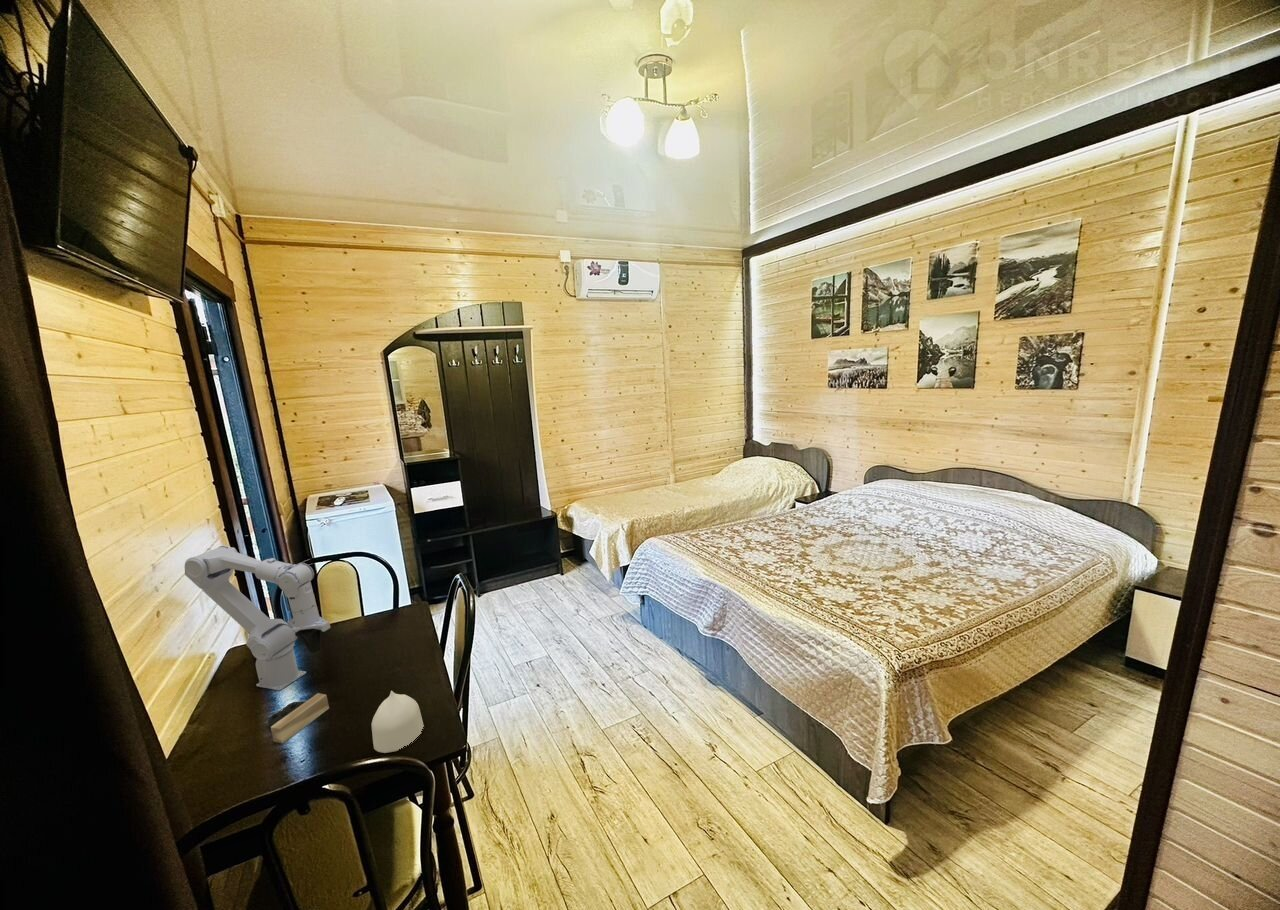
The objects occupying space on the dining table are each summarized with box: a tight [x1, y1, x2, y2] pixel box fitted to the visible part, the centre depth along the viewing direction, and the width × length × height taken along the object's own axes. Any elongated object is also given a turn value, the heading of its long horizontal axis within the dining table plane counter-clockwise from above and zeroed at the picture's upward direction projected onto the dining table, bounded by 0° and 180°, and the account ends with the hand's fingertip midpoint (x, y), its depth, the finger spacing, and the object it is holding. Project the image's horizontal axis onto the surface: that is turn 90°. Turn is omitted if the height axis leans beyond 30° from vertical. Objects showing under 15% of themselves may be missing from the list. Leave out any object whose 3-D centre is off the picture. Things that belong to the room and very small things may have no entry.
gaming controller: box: [267, 700, 307, 729], centre depth 117 cm, size 10×5×6 cm
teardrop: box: [371, 690, 425, 754], centre depth 109 cm, size 11×11×12 cm
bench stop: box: [270, 692, 330, 745], centre depth 115 cm, size 3×12×4 cm, turn 163°
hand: (315, 650), depth 131 cm, fingers closed
